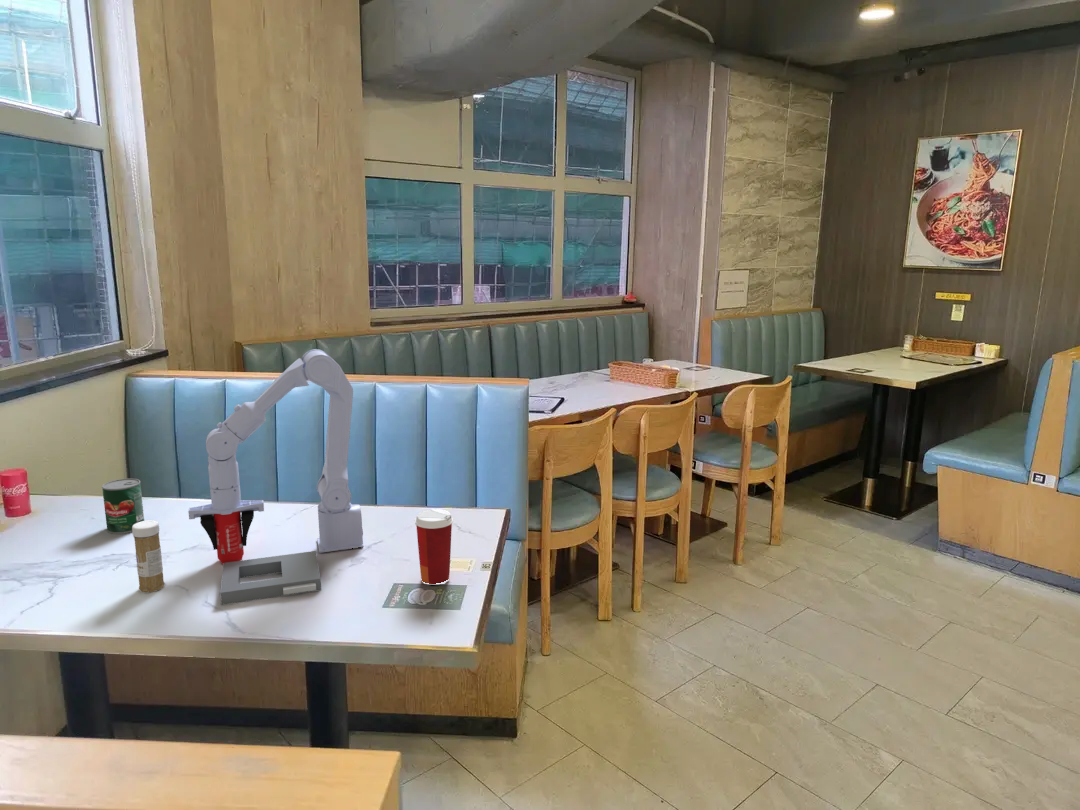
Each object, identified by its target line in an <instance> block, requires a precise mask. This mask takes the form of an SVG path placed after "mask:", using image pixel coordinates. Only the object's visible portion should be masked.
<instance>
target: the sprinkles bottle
mask: <svg viewBox="0 0 1080 810" xmlns="http://www.w3.org/2000/svg"><path fill="white" fill-rule="evenodd" d="M159 525H160V524H159V522H158V521H157V520H153V519H152V520H151V519H149V520H148V519H147V520H144V521H141V522H138V523H136V524H134V525H133V526H132V532H131V533H132V536H133V538H134V546H135V558H136V559H135V560H136V570H137V575H138V576H137V577H138V583H139V584H138V585H139V586H138V590H139V591H140V592H142V593H153V592H157V591H159V590H161V589H163V588H164V587H165V585H166V584H165V582H164V567H163V559H162V558H163V557H162V547H161V543H160V542H161V541H160V526H159Z"/></svg>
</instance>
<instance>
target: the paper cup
mask: <svg viewBox="0 0 1080 810" xmlns="http://www.w3.org/2000/svg"><path fill="white" fill-rule="evenodd" d="M413 521H414V525H415V526H416V537H417V549H418V558H419V567H420V568H419V569H420V578H421V579H422V580H421V579H420V580H421V582H422V581H423V582H425V583H429V584H436V583H441V582H444V581H446V580H448V579H449V580H450V574H451V572H450V569H451V568H450V567H451V554H452V553H451V550H452V548H451V547H452V530H453V529H452V526H453V523H454V518H453V517H452V514H451V512H449V511H447V510H445V509H439V508H438V509H437V508H434V509H426V510H422V511H420V512H418V514H417V515H416V517H415V519H414V520H413Z"/></svg>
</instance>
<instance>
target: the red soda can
mask: <svg viewBox="0 0 1080 810" xmlns="http://www.w3.org/2000/svg"><path fill="white" fill-rule="evenodd" d="M214 522H215V534H216V542H217V549H216V552H217V553H216V554H217V560H219V563H220V564H222V565H224V563H226V562H234V561H242V560H243V556H244V554H245V552H244V546H243V543H242V538H243V532H242V522H241V513H240V511H237V512H232V513H231V514H226V515H221V514H214Z"/></svg>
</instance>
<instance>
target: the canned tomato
mask: <svg viewBox="0 0 1080 810" xmlns="http://www.w3.org/2000/svg"><path fill="white" fill-rule="evenodd" d="M101 488H102V495H103V505H104V514H105V523H106V531H107V532H108V533H109V534H113V535H120V534H122V535H123V534H129V533H133V532H132V526H133V525H134V524H136V523H138V522H141V521H145V515H144V506H143V505H144V504H143V496H142V494H143V493H142V487H141V480H140V479H138V478H119V479H115V480H110V481H107V482H105V483H103V484H102V485H101Z"/></svg>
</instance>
